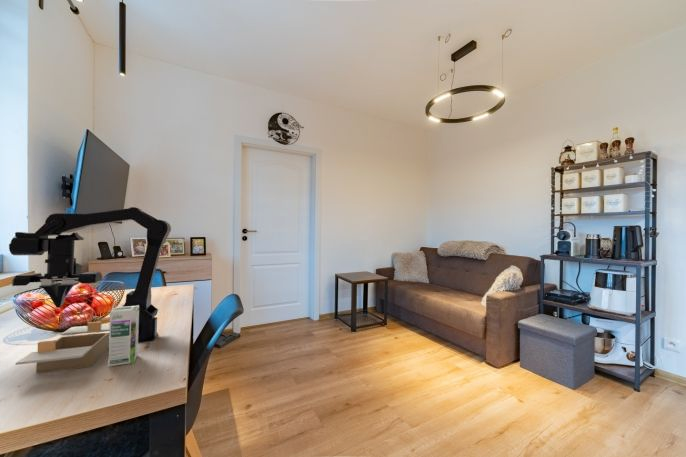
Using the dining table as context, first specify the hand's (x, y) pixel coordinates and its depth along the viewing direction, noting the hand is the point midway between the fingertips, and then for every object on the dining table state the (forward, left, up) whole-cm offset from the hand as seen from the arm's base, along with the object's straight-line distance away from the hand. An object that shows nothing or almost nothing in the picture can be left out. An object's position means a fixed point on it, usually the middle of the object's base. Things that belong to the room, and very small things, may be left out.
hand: (59, 307), depth 86 cm
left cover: (-9, +23, -7) cm, 25 cm away
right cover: (-9, +3, -7) cm, 12 cm away
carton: (-9, +12, -12) cm, 20 cm away
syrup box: (-21, +17, -12) cm, 30 cm away
